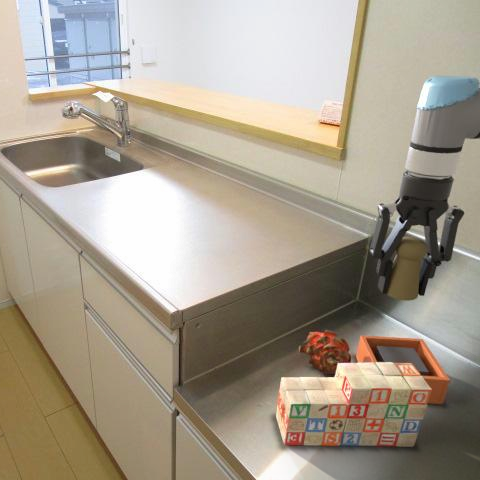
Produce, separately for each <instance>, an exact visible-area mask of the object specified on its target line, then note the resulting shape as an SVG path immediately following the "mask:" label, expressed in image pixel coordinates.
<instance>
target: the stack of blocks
mask: <svg viewBox="0 0 480 480" xmlns="http://www.w3.org/2000/svg"><path fill="white" fill-rule="evenodd" d="M430 394H431V388H430V387H429V385H428V384H427V383H426V381H425V380H424V378H423V377H422V376H421V375H420V373H419V372H418V371H417V369H416V368H415V367H414V365H413V364H412V363H393V362H376V363H373V362H369V363H358V362H351V363H338V365H337V370H336V374H334V376H333V377H331V376H330V377H328V376H327V377H325V376H323V377H319V376H299V377H298V376H294V377H290V376H289V377H288V376H287V377H284V376H282V377H281V379H280V386H279V391H278V397H277V405H276V415H275V417H276V421H277V424H278V428H279V432H280V435H281V438H282V443H283V444H284V445H285V446H302V445H303V446H326V447H327V446H331V447H335V446H337V447H339V446H354V447H355V446H371V447H372V446H374V447H375V446H377V447H401V448H402V447H405V448H406V447H410V448H413V447H415V445H416V441H417V438H418V435H419V432H420V429H421V425H422V423H423V419H424V418H425V415H426V411H427V409H428V406H429V405H428V404H429V403H428V400H429V397H430Z"/></svg>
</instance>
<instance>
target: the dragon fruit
mask: <svg viewBox="0 0 480 480" xmlns="http://www.w3.org/2000/svg"><path fill="white" fill-rule="evenodd" d="M306 336H307V337H306V340H305V341H302V344H306V345H299V346H298V352H299V353H301V354H306V355H308V356H310V358H309V360H308V364H309V365H310V366H311V368H313V369H314V368H316V369H319V371H320V372H322V373H323V374H325V375H332V374H333V375H335V374H336V370H337V365H338V363H352V355H351V353H349V351H350V346H349V344H348V342H347V340H346V339H345V338H340V337H339V336H338V335H337V333H335V332H333V331H332V330H329V329H325V330H324V331H323V332H322V331H321V332H320V331H309V332H308V333H306Z"/></svg>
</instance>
